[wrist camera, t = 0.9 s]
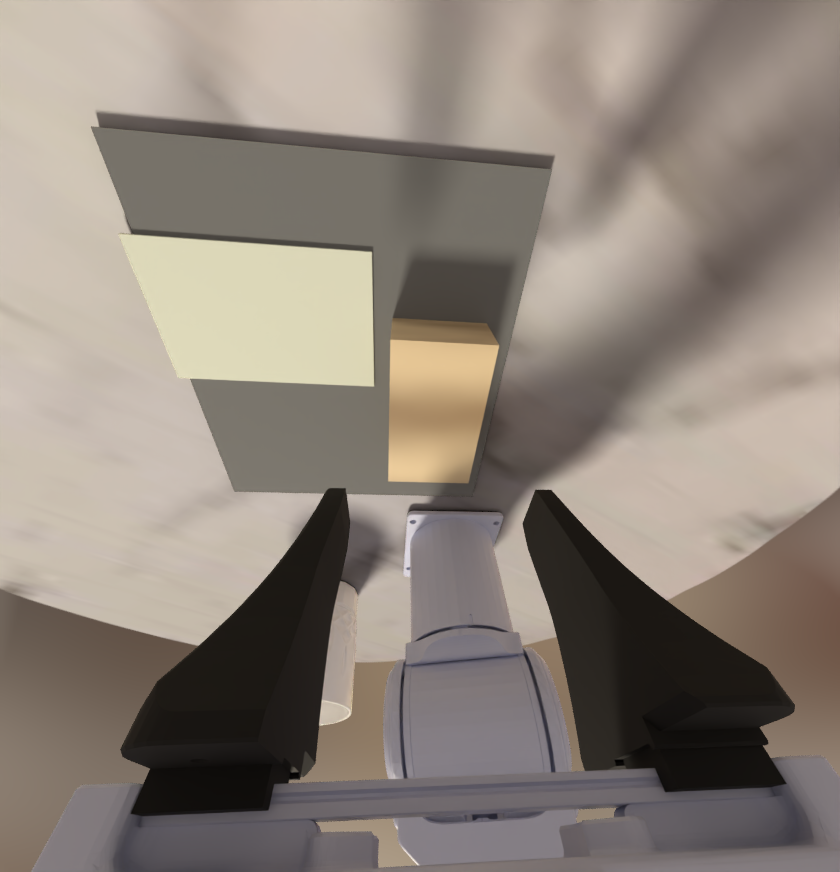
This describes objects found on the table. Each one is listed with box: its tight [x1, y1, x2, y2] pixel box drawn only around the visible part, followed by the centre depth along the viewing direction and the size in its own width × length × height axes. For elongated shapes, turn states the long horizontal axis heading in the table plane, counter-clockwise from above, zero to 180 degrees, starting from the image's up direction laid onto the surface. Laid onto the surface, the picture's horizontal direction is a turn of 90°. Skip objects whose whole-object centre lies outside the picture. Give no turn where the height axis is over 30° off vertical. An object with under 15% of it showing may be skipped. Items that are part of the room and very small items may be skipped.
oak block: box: [388, 318, 499, 483], centre depth 19 cm, size 9×5×3 cm, turn 176°
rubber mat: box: [91, 127, 552, 497], centre depth 19 cm, size 20×18×1 cm
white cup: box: [319, 581, 358, 725], centre depth 31 cm, size 8×8×10 cm
